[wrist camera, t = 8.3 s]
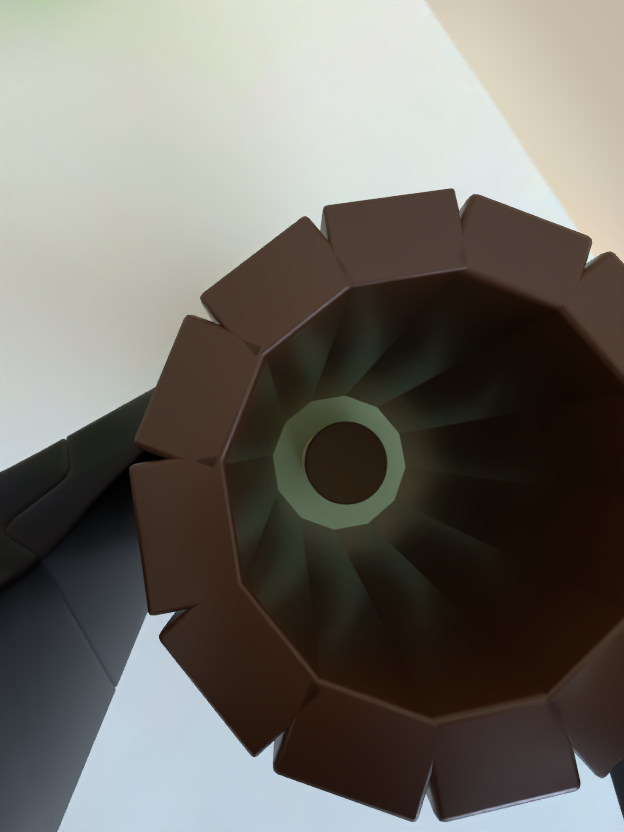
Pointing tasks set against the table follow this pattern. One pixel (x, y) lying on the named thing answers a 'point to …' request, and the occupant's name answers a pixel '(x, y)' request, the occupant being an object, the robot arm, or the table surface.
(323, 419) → the peg stand
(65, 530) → the robot arm
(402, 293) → the brown slatted pencil holder
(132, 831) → the table surface
